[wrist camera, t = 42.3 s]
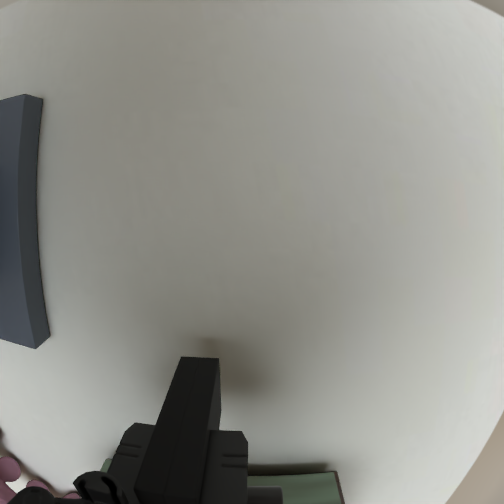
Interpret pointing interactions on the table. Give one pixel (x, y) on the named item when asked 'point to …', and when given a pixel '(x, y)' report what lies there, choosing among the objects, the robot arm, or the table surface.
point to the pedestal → (20, 224)
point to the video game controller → (9, 472)
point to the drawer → (287, 488)
